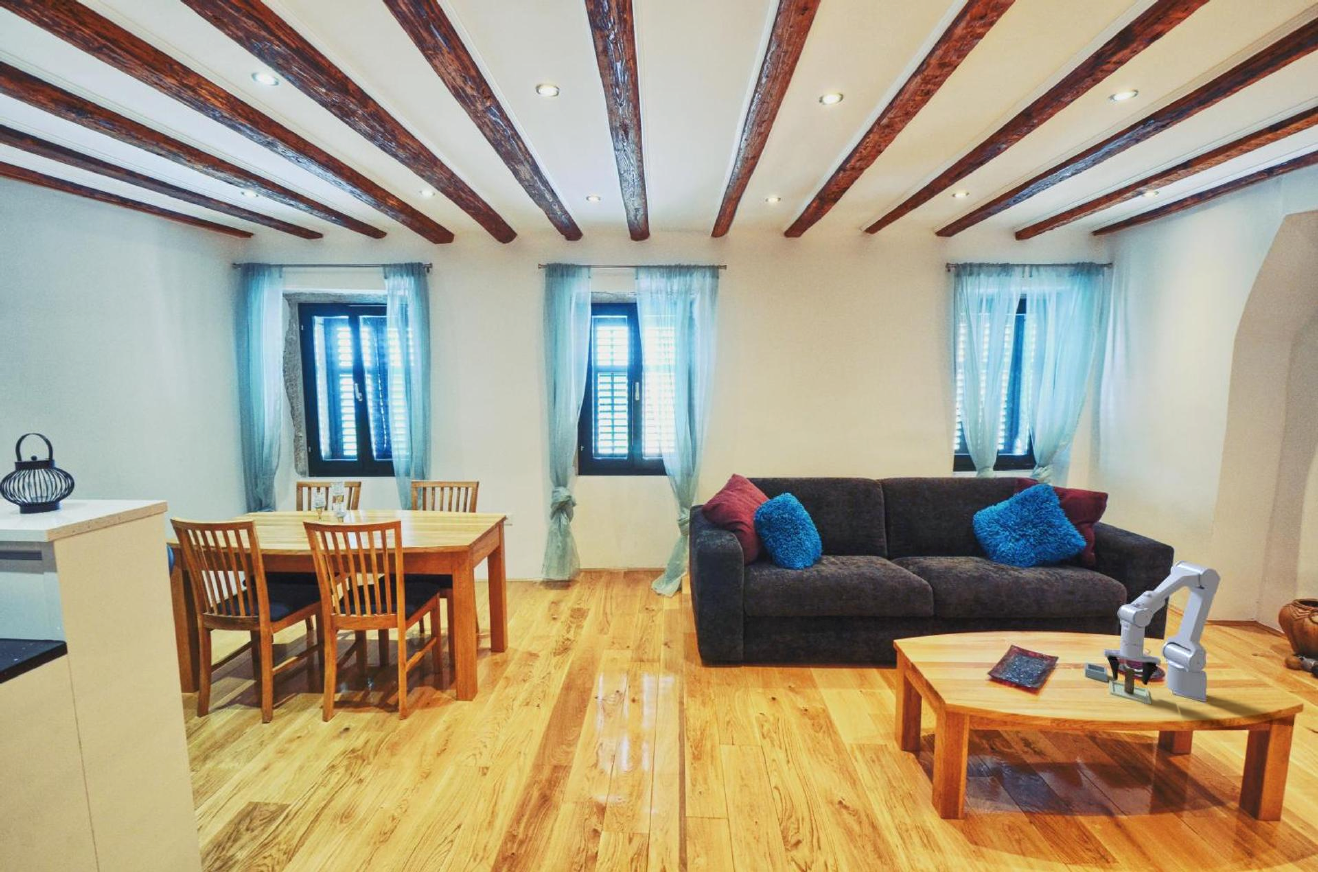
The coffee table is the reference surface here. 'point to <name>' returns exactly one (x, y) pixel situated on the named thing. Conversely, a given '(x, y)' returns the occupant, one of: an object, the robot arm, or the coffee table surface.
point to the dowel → (1129, 680)
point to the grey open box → (1096, 672)
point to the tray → (1138, 695)
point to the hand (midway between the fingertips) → (1129, 680)
